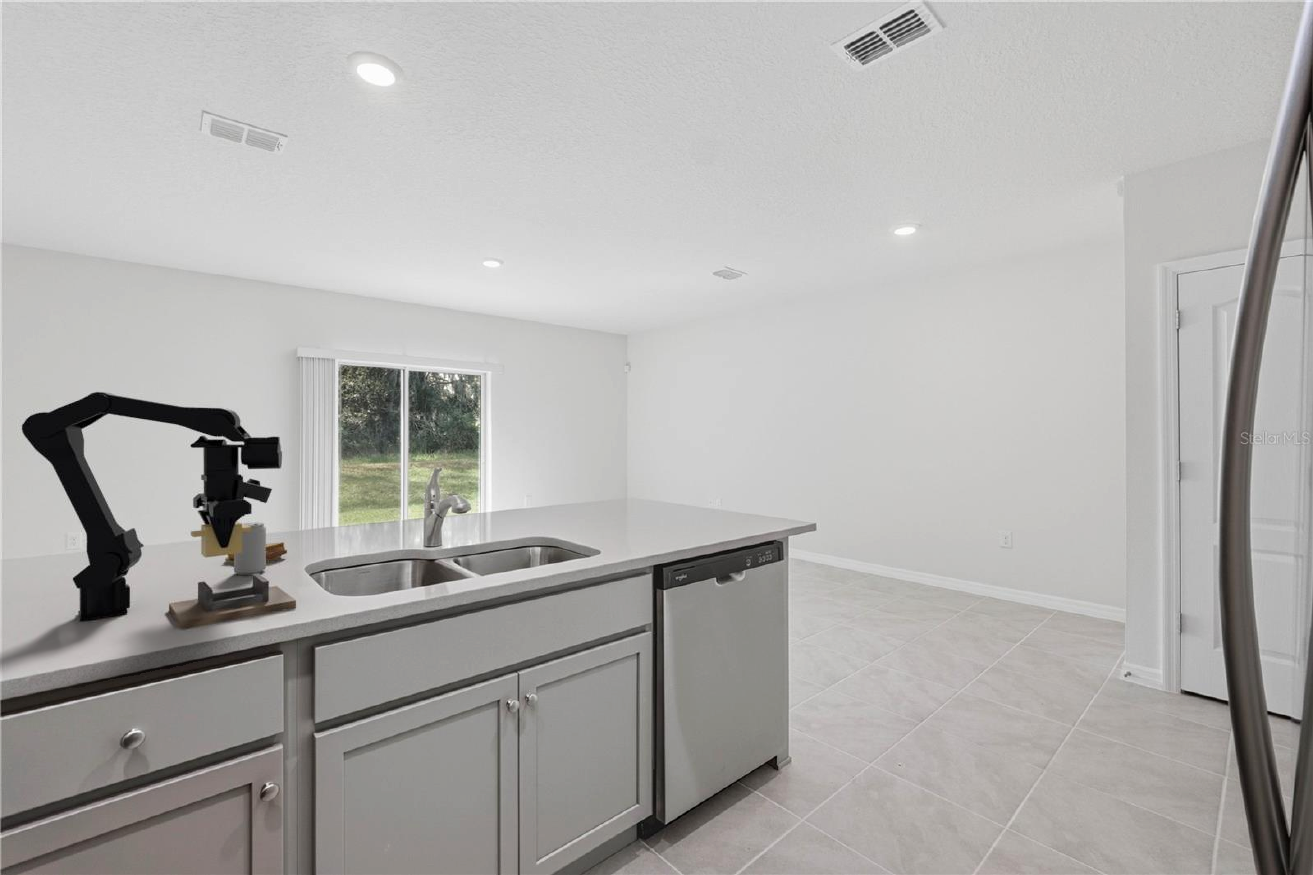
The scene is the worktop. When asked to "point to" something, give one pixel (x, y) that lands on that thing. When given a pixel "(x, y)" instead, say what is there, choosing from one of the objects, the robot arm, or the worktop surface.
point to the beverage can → (252, 550)
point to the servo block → (211, 544)
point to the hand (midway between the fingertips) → (221, 546)
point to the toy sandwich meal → (271, 552)
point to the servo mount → (230, 604)
